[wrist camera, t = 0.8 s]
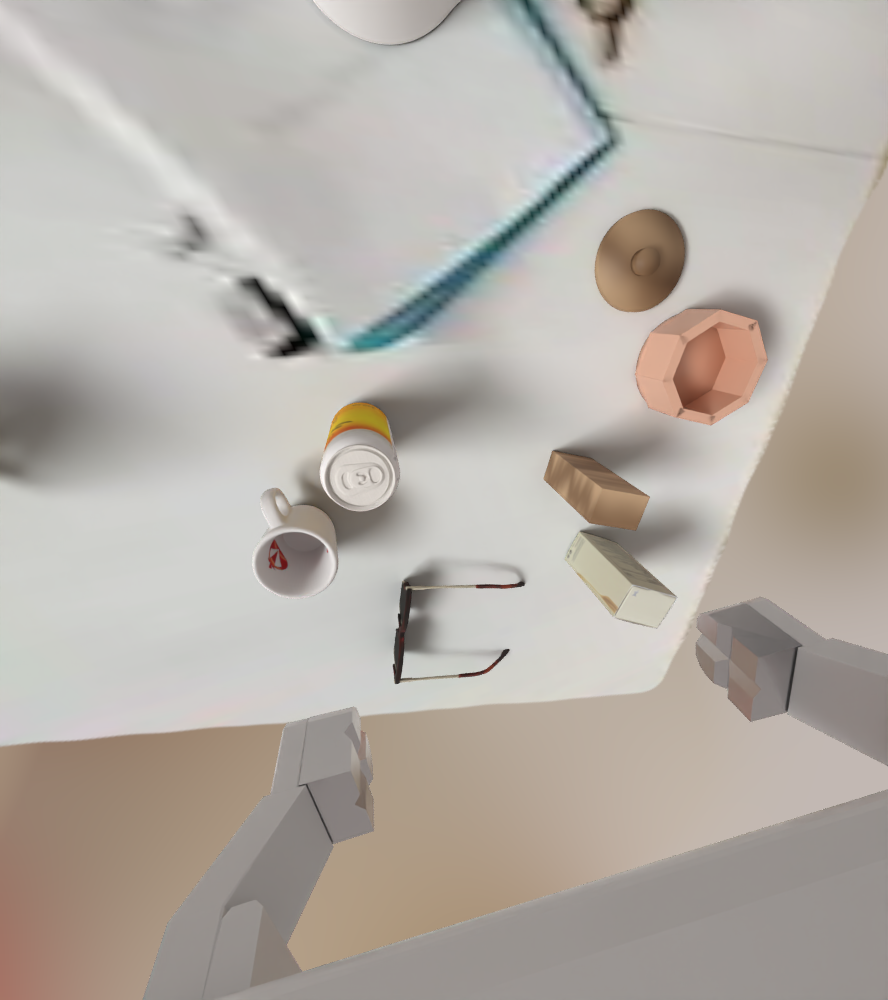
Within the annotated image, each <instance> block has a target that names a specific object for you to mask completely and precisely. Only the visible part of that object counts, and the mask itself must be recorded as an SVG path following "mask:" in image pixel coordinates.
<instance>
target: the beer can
mask: <svg viewBox="0 0 888 1000" xmlns="http://www.w3.org/2000/svg"><path fill="white" fill-rule="evenodd" d="M399 479H400V468H399V463H398V459H397V454H396V450H395V445H394V441H393V437H392V432H391V428H390V424H389V421H388V419H387V417H386V416H385V414H384V413H383V412H382V411H381V410H380V409H378V408H377V407H375V406H373V405H371V404H368V403H352V404H349V405H347V406H345V407H343V408H342V409H341V410H339V411H338V413H337V414H336V415H335V417H334V419H333V421H332V424H331V428H330V432H329V435H328V439H327V443H326V446H325V450H324V454H323V458H322V461H321V465H320V480H321V484H322V486H323V488H324V490H325V492H326V493H327V495H328V496H329V497H330V498H331V499H332V500H333V501H334V502H336V503H337V504H338V505H340V506H342V507H343V508H346V509H348V510H352V511H368V510H372V509H375V508H377V507H379V506H380V505H382V504H383V503H385V502H386V501H387V500H388V499H389V498H390V497H391V496H392V495H393V494H394V492H395V491H396V488H397V486H398V483H399Z"/></svg>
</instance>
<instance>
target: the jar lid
mask: <svg viewBox="0 0 888 1000" xmlns="http://www.w3.org/2000/svg"><path fill="white" fill-rule="evenodd" d="M684 256H685V248H684V241H683V237H682V234H681V231H680V229H679V227H678V226H677V224H676V223H675V222H674V220H673V219H672V218H670V217H669V216H668V215H666V214H665V213H663V212H660V211H657V210H650V209H647V210H640V211H637V212H634V213H631V214H629V215H626V216H625V217H623V218H621V219H620V220H619V221H617V222H616V223H615V224H614V225H613V226H612V227H611V228H610V229H609V231H608V232H607V233H606V235H605V236H604V238H603V240H602V242H601V244H600V246H599V249H598V252H597V256H596V261H595V278H596V283H597V286H598V289H599V291H600V293H601V295H602V297H603V298H604V299H605V300H606V302H607V303H608V304H610V305H611V306H612V307H614V308H616V309H618V310H621V311H625V312H640V311H645V310H648V309H650V308H653V307H654V306H656V305H658V304H659V303H660V302H662V301H663V300H664V299H665V298H666V297H667V296H668V295H669V294H670V293H671V291H672V290H673V288H674V287H675V285H676V283H677V282H678V280H679V277H680V275H681V272H682V269H683V264H684Z"/></svg>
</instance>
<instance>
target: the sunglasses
mask: <svg viewBox="0 0 888 1000" xmlns="http://www.w3.org/2000/svg"><path fill="white" fill-rule="evenodd" d="M524 585H525V583H522V582H519V583H517V584H509V585H492V584H485V585H456V586H410V585H409V583H408V582H405V581H402V588H401V596H400V603H399V608H400V614H398V621H399V629H396V637H395V646H394V661H395V664H393V670H394V683H395V684H399V683H400V682H411V681H418V680H429V679H443V678H460V677H472V676H478V675H482V674H485V673H487V672H489V671H490V670H491V669H492V668H493V667H494V666H496V665H497V664H498V663H499V662H500V661H501V660H502V659H503V658H504V657H505V656H506V655H507V653H508V652H509V649H506V650H504V651H503V652H502V654H501V656H500V657H499V658H498V659H497V660H496V661H495V662H494V663H493V664H492V665H491V666H490V667H488V668H487V669H485V670H483V671H480V672H475V673H465V674H459V675H448V676H435V677H424V678H402V679H401V673H402V666H403V656H404V634H405V631H406V628H407V624H408V619H409V613H410V605H411V594H412V590H425V589H432V588H475V587H476V588H501V589H505V588H515V587H522V586H524Z"/></svg>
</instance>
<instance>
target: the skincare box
mask: <svg viewBox="0 0 888 1000" xmlns="http://www.w3.org/2000/svg"><path fill="white" fill-rule="evenodd" d="M565 560H566V561H567V563H568V564H569V565H570V566H571V567H572V568H573V570H574V571H575V572H576V573H577V574H578V575H579V577H580V578H581V579H582V580H583V581H584V583H585V584H586V585H587V586H588V587H589V589H590V590H591V591H592V592H593V593H594V595H595V596H596V597H597V598H598V599H599V600H600V602H601V603H602V604H603V605H604V606H605V608H606V609H607V610H608V611H609V612H610V614H611V615H612V616H613V617H614V618H616V619H619V620H622V621H626V622H630V623H634V624H638V625H643V626H647V627H652V628H658V627H659V625H660V624H661V622H662V621H663V619H664V618H665V617H666V615H667V614H668V612H669V611H670V609H671V608H672V606H673V605H674V603H675V602H676V600H677V597H676V596H675V595H674V594H673V593H672V592H671V591H670V590H669V589H668V588H667V587H665V586H664V585H663V584H662V583H661V582H660V581H659V580H658V579H656V578H655V577H654V576H653V575H652V574H651V573H650V572H649V571H648V570H646V569H645V568H644V567H643V566H642V565H641V564H640V563H639V562H638V561H636V560H635V559H634V558H633V557H632V556H631V555H630V554H629V553H627V552H626V551H625V550H624V549H623V548H622V547H621V546H620V545H619V544H617V543H616V542H613V541H610V540H607V539H604V538H601V537H598V536H594V535H591V534H587V533H583V532H579V533H578V535H577V536H576V538H575V540H574V542H573V543H572V545H571V547H570V549H569V551H568V553H567V555H566V557H565Z"/></svg>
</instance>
